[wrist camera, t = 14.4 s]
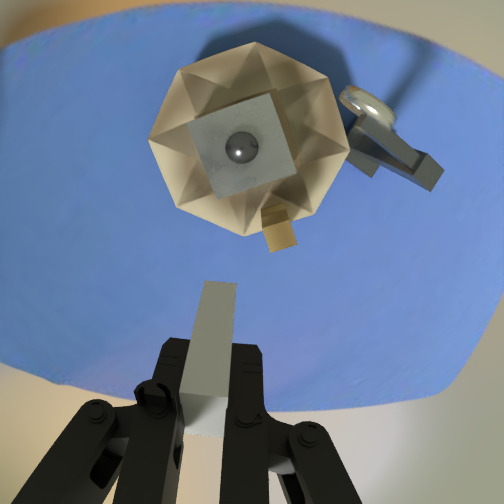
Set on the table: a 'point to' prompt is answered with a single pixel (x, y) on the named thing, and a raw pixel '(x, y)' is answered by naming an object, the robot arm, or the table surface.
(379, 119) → the dial post
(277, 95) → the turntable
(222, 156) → the cover
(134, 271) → the table surface
